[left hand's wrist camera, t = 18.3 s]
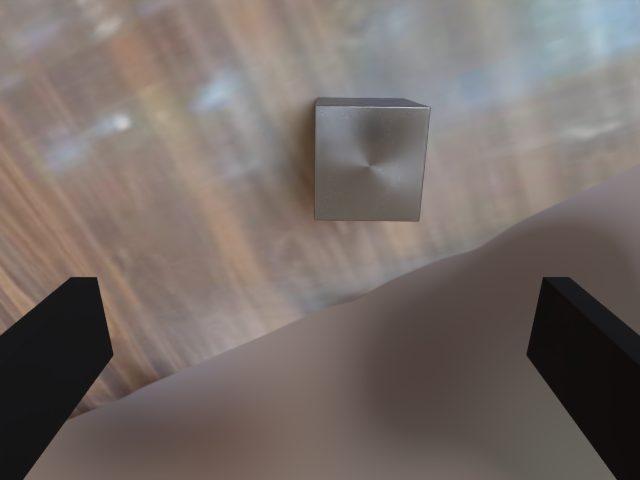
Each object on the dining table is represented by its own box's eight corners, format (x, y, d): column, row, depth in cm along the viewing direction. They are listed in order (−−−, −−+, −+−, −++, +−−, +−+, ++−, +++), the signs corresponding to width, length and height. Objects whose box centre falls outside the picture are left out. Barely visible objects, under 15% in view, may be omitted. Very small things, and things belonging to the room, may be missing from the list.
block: (404, 98, 39) (430, 106, 29) (397, 187, 42) (419, 221, 32) (317, 97, 39) (314, 105, 29) (316, 186, 42) (314, 220, 32)
